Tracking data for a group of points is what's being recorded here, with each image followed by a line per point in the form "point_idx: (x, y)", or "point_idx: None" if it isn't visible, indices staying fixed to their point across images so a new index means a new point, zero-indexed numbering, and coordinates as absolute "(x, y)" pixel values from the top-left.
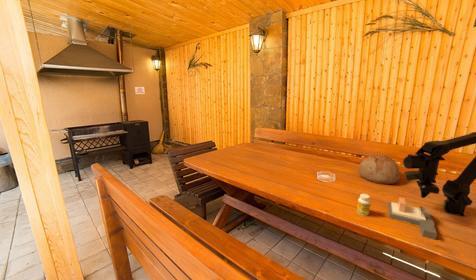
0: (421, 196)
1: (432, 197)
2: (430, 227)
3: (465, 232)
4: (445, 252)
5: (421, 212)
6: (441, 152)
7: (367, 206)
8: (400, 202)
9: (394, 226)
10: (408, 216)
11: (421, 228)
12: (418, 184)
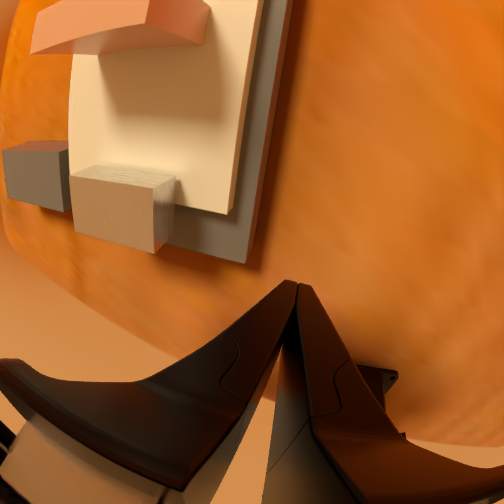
0: (278, 286)
1: (489, 358)
2: (25, 185)
3: (149, 332)
4: (3, 195)
5: (74, 173)
6: None
7: None
8: (44, 9)
9: None
10: (75, 84)
11: (39, 144)
12: (147, 480)
